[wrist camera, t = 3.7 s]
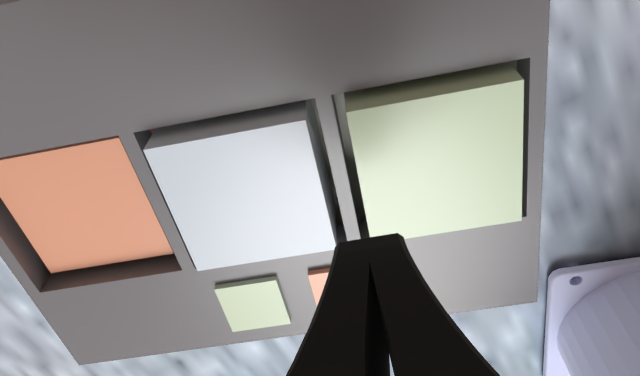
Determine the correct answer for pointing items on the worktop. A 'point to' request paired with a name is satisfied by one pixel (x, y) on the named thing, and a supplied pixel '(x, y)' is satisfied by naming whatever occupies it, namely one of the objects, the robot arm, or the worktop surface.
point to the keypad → (238, 96)
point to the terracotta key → (82, 205)
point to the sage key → (440, 151)
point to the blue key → (246, 185)
